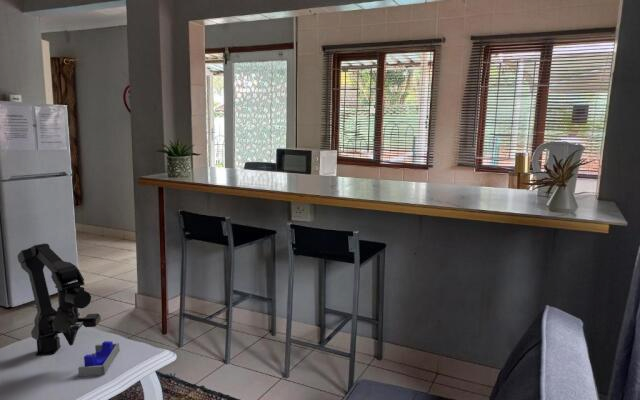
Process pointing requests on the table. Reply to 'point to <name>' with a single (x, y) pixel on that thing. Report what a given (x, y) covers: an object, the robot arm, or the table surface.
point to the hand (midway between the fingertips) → (71, 344)
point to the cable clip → (99, 355)
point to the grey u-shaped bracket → (102, 368)
